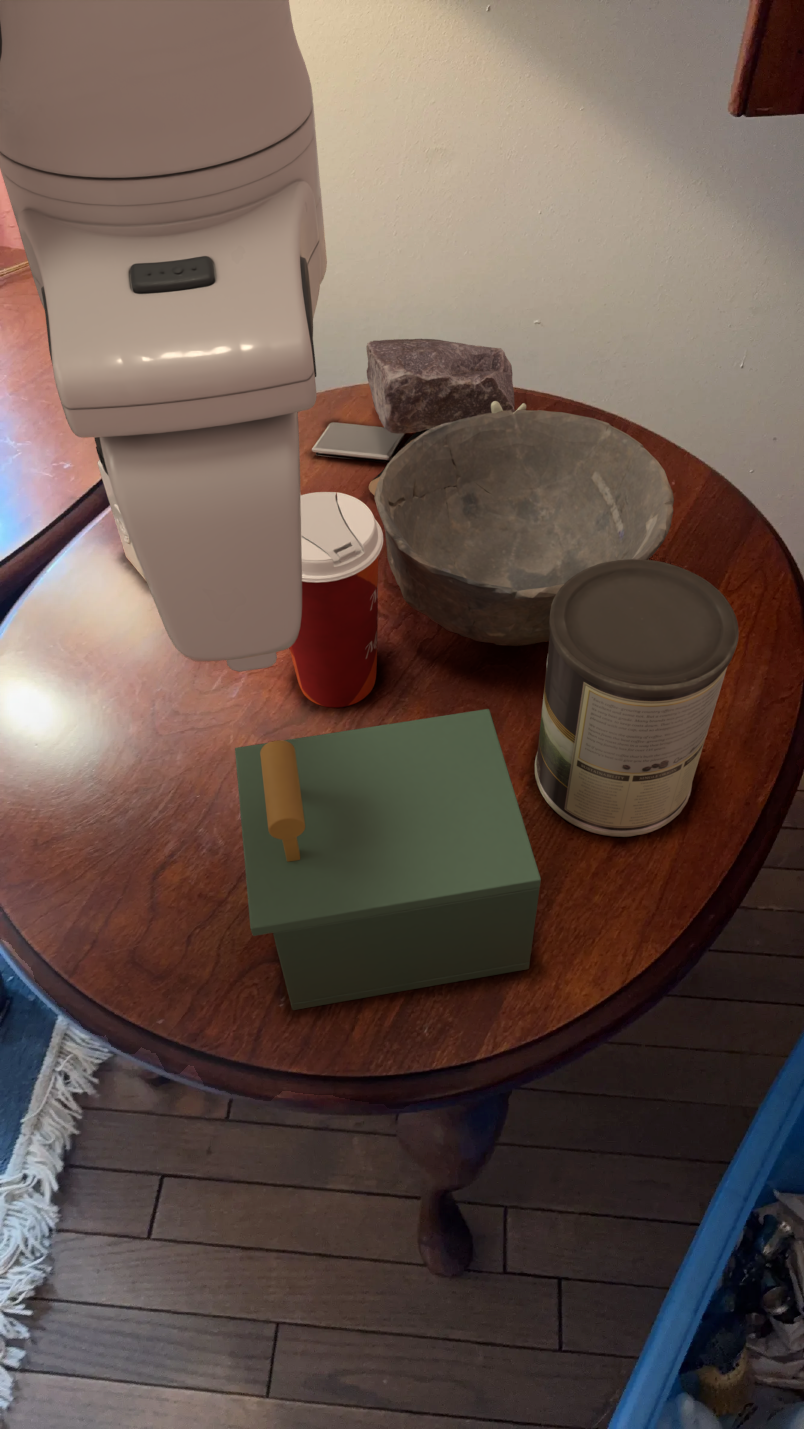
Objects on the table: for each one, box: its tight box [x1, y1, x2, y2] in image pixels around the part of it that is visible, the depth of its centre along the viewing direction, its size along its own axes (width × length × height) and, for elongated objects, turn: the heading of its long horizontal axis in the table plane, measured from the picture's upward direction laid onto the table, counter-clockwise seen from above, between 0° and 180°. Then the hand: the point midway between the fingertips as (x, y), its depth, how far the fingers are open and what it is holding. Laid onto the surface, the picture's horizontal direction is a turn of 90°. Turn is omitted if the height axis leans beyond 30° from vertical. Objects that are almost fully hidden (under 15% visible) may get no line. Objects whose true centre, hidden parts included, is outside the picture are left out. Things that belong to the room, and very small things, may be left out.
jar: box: [93, 437, 146, 581], centre depth 79 cm, size 9×8×12 cm
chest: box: [272, 886, 541, 1011], centre depth 59 cm, size 14×12×9 cm
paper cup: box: [289, 491, 384, 708], centre depth 69 cm, size 8×8×14 cm
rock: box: [365, 338, 516, 434], centre depth 89 cm, size 14×14×15 cm
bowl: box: [374, 409, 675, 647], centre depth 75 cm, size 21×21×10 cm
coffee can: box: [534, 559, 740, 838], centre depth 63 cm, size 10×10×14 cm
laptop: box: [311, 421, 407, 464], centre depth 92 cm, size 7×6×2 cm
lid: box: [234, 708, 542, 937], centre depth 54 cm, size 15×12×5 cm
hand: (243, 572), depth 41 cm, fingers open, 8 cm apart
